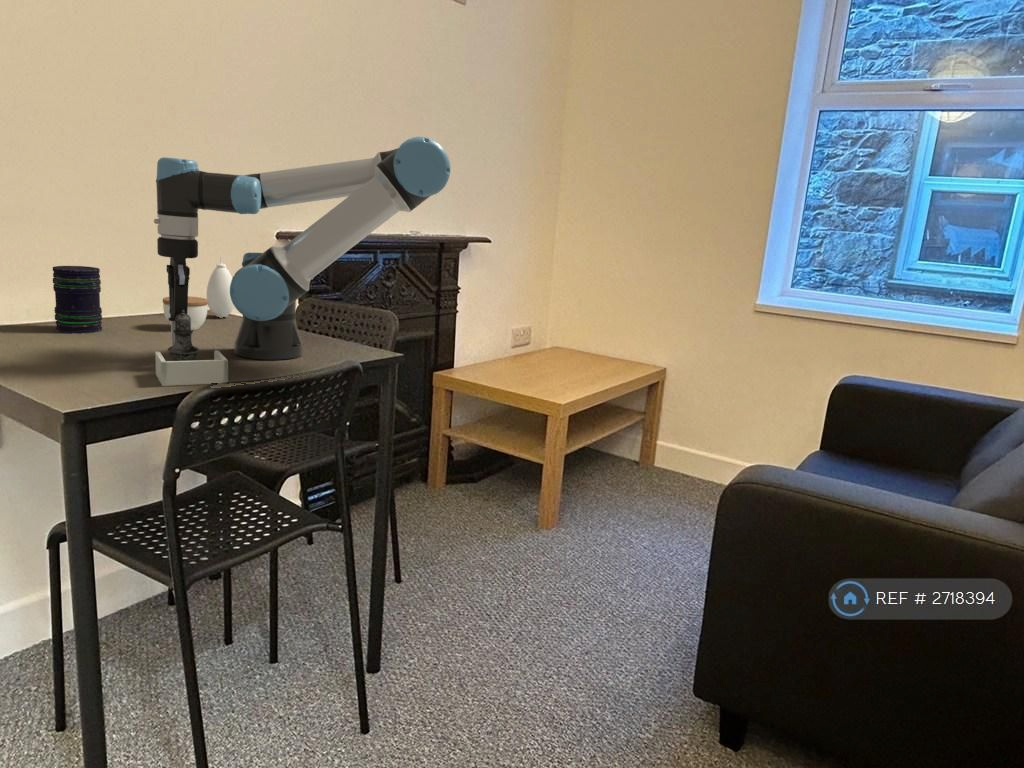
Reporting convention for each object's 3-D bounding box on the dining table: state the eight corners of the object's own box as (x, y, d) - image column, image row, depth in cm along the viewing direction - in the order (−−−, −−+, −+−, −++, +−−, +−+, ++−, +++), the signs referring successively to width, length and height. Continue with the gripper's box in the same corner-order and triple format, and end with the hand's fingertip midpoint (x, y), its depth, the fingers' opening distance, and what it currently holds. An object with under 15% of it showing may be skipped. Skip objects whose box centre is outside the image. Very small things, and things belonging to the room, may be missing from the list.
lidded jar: (164, 324, 191) (163, 289, 189) (207, 325, 196) (207, 290, 193) (162, 331, 182) (161, 294, 180) (208, 332, 186) (208, 296, 184)
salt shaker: (167, 361, 150) (166, 305, 147) (197, 361, 153) (197, 306, 149) (168, 370, 145) (167, 312, 142) (200, 370, 148) (200, 313, 144)
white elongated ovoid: (204, 319, 204) (204, 254, 200) (208, 314, 212) (208, 252, 207) (234, 320, 206) (234, 257, 202) (237, 316, 214) (237, 254, 210)
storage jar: (52, 333, 169) (48, 269, 165) (58, 325, 177) (55, 264, 174) (100, 334, 173) (98, 271, 169) (104, 326, 181) (102, 267, 178)
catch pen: (218, 371, 148) (218, 350, 147) (227, 383, 140) (228, 360, 139) (155, 374, 142) (155, 351, 141) (162, 386, 134) (161, 362, 133)
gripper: (154, 233, 150) (155, 344, 155) (160, 238, 139) (162, 357, 145) (193, 236, 154) (193, 344, 159) (202, 241, 143) (202, 357, 149)
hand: (178, 350), depth 152 cm, fingers closed
